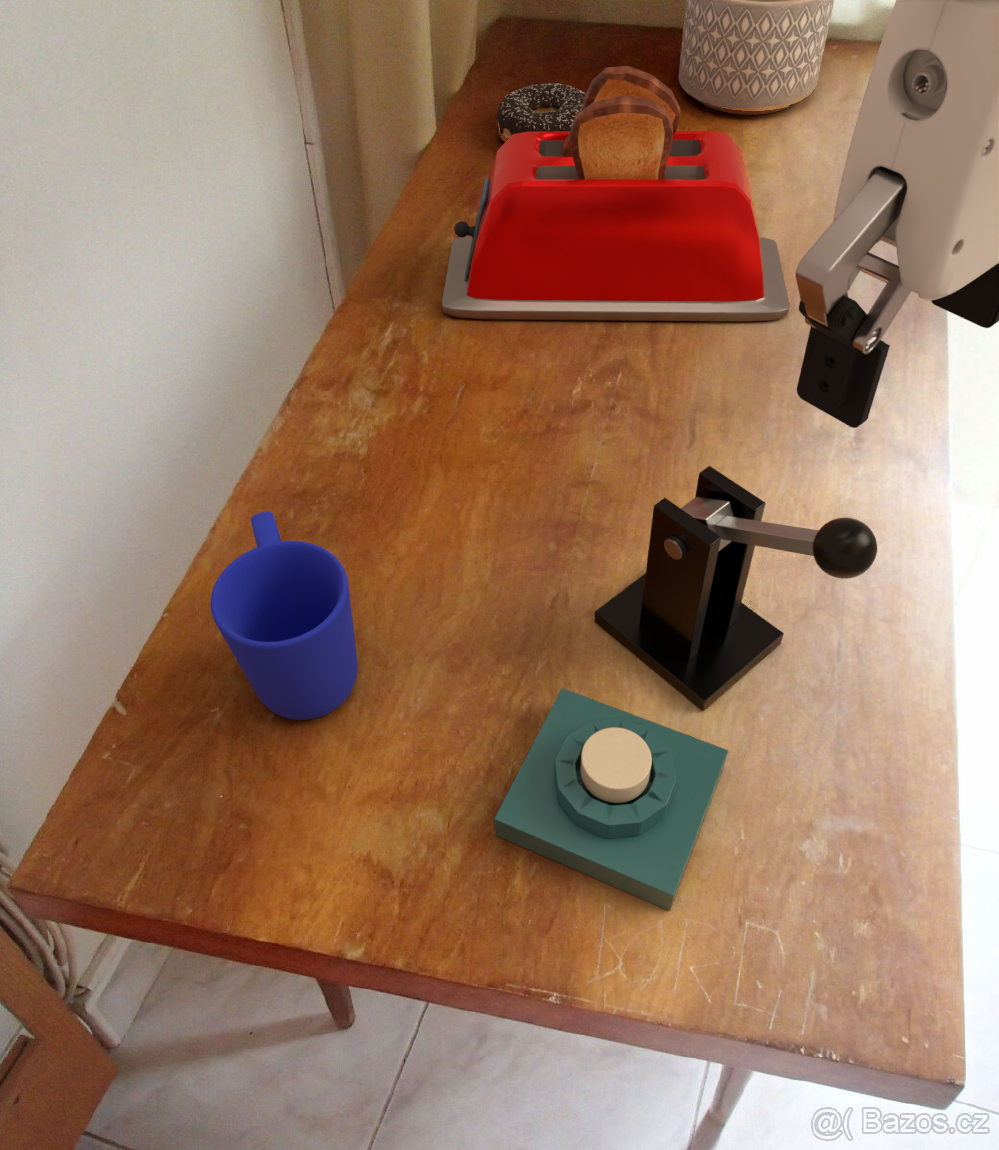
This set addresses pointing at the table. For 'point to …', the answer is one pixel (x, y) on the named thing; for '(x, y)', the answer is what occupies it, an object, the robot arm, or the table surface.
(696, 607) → the bracket
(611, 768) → the button
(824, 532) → the lever
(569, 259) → the toaster
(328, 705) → the mug
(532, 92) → the donut
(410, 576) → the table surface
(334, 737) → the table surface
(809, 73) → the planter
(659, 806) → the button block
